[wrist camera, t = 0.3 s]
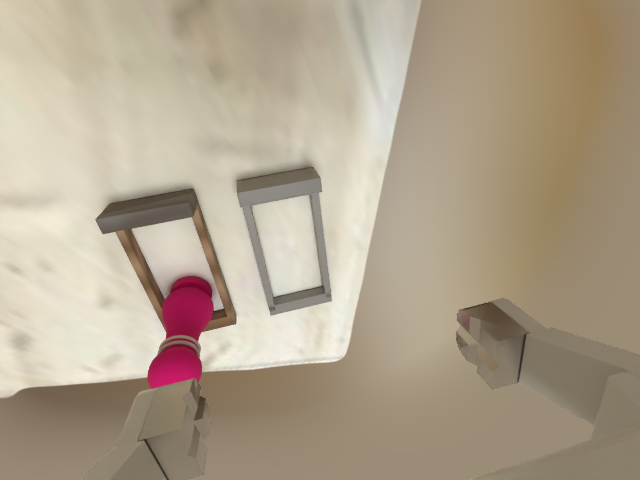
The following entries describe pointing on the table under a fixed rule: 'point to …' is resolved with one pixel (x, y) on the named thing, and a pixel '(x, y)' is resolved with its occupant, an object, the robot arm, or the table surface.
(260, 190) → the grey open rectangular frame
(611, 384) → the robot arm
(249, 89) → the table surface
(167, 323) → the pepper mill
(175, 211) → the brown wooden rectangular frame
